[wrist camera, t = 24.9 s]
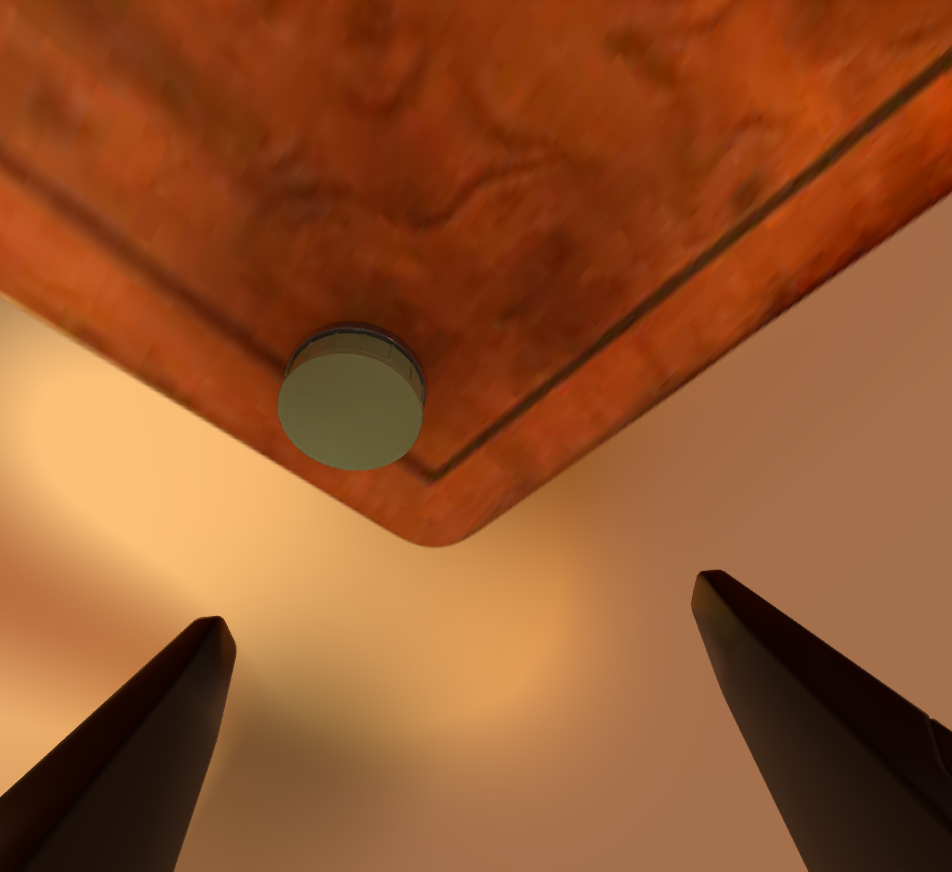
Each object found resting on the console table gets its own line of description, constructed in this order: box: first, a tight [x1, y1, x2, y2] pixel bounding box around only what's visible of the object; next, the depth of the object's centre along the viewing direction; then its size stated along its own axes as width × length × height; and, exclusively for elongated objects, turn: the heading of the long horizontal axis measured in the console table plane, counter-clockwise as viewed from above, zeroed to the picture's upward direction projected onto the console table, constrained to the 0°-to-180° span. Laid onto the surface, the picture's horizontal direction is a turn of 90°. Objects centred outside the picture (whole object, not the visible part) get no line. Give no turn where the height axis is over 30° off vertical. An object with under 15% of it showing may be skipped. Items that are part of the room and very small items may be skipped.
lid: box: [277, 333, 424, 471], centre depth 21 cm, size 6×6×2 cm
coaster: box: [284, 322, 427, 410], centre depth 22 cm, size 6×6×1 cm
